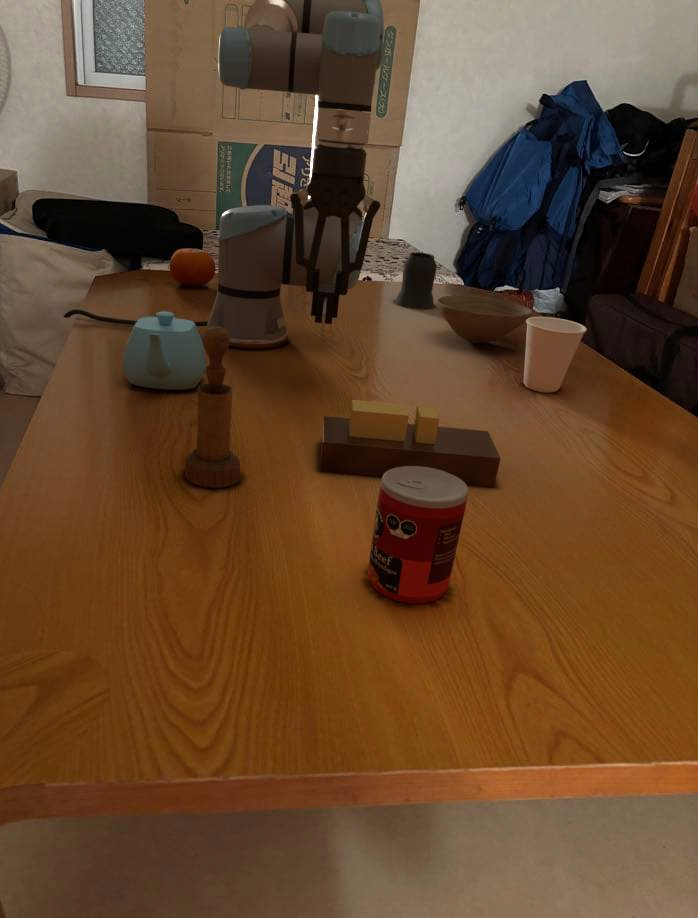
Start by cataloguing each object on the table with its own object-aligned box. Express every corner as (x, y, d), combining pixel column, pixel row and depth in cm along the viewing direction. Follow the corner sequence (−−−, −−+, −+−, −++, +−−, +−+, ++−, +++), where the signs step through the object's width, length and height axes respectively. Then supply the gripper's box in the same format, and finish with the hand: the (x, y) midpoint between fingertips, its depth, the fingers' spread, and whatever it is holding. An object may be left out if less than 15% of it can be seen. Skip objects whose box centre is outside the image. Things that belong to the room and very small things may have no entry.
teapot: (107, 326, 108) (134, 297, 124) (110, 399, 113) (135, 362, 129) (197, 334, 108) (212, 304, 124) (196, 406, 114) (211, 369, 129)
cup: (572, 400, 130) (590, 335, 125) (513, 392, 131) (528, 327, 126) (566, 382, 139) (583, 321, 133) (510, 375, 140) (524, 313, 134)
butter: (349, 436, 98) (352, 410, 96) (348, 425, 101) (352, 399, 99) (404, 441, 98) (408, 415, 96) (402, 429, 101) (406, 404, 99)
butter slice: (415, 442, 98) (420, 416, 96) (412, 430, 101) (417, 405, 99) (434, 444, 98) (439, 418, 96) (431, 432, 101) (435, 407, 99)
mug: (434, 310, 180) (443, 260, 174) (395, 306, 180) (402, 256, 175) (431, 299, 190) (439, 251, 185) (394, 295, 191) (401, 247, 185)
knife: (330, 342, 107) (334, 308, 105) (311, 340, 107) (315, 307, 105) (332, 312, 123) (335, 282, 121) (316, 311, 123) (319, 281, 121)
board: (319, 471, 97) (323, 441, 95) (321, 443, 105) (324, 415, 103) (494, 487, 97) (500, 458, 95) (482, 458, 105) (488, 431, 103)
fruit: (163, 286, 179) (163, 250, 175) (176, 278, 188) (177, 243, 184) (208, 292, 178) (209, 255, 174) (219, 283, 187) (220, 248, 183)
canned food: (360, 562, 79) (374, 463, 73) (436, 563, 80) (456, 466, 74) (373, 605, 72) (390, 500, 67) (456, 606, 73) (479, 503, 68)
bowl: (465, 326, 169) (472, 289, 165) (540, 348, 158) (549, 308, 154) (413, 337, 157) (419, 297, 153) (490, 362, 146) (499, 319, 142)
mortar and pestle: (247, 472, 95) (255, 326, 86) (227, 493, 90) (233, 339, 81) (198, 461, 97) (201, 317, 88) (175, 481, 92) (175, 329, 83)
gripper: (283, 141, 105) (271, 315, 117) (397, 151, 105) (375, 325, 117) (286, 139, 112) (275, 304, 123) (394, 149, 112) (373, 313, 123)
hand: (324, 314), depth 120 cm, fingers closed on knife, 3 cm apart
